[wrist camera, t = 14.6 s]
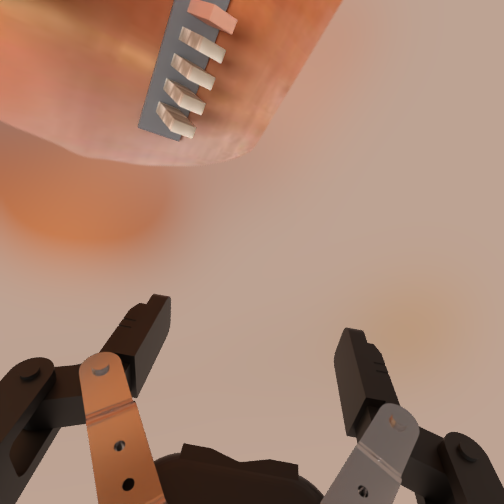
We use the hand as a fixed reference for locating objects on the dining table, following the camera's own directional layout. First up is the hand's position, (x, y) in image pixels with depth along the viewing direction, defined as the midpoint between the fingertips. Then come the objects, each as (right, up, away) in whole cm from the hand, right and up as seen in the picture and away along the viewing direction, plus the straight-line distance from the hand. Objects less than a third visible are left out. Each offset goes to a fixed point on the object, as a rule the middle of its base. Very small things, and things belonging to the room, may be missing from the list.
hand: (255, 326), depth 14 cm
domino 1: (-13, +48, +49) cm, 70 cm away
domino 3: (-17, +40, +54) cm, 69 cm away
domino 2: (-15, +44, +52) cm, 69 cm away
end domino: (-11, +52, +47) cm, 71 cm away
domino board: (-15, +44, +52) cm, 70 cm away
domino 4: (-19, +36, +56) cm, 69 cm away
